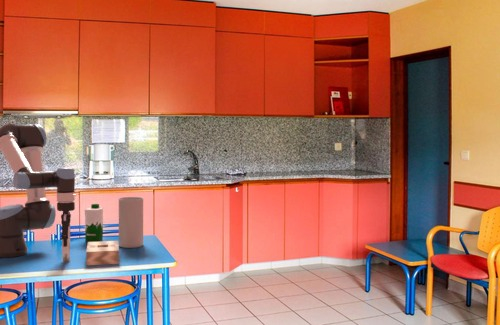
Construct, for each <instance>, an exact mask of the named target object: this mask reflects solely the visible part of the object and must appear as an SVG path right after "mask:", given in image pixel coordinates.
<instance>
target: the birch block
mask: <svg viewBox="0 0 500 325" xmlns="http://www.w3.org/2000/svg"><path fill="white" fill-rule="evenodd" d="M119 248H120V246H119V240H102V241H100V242H87V245H86V251H85V252H86V253H85V256H86V257H85V258H86V259H85V264H86V265H85V266H97V265H98V266H100V265H103V266H104V265H115V264H116V265H117V264H119V263H120V249H119Z"/></svg>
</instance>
